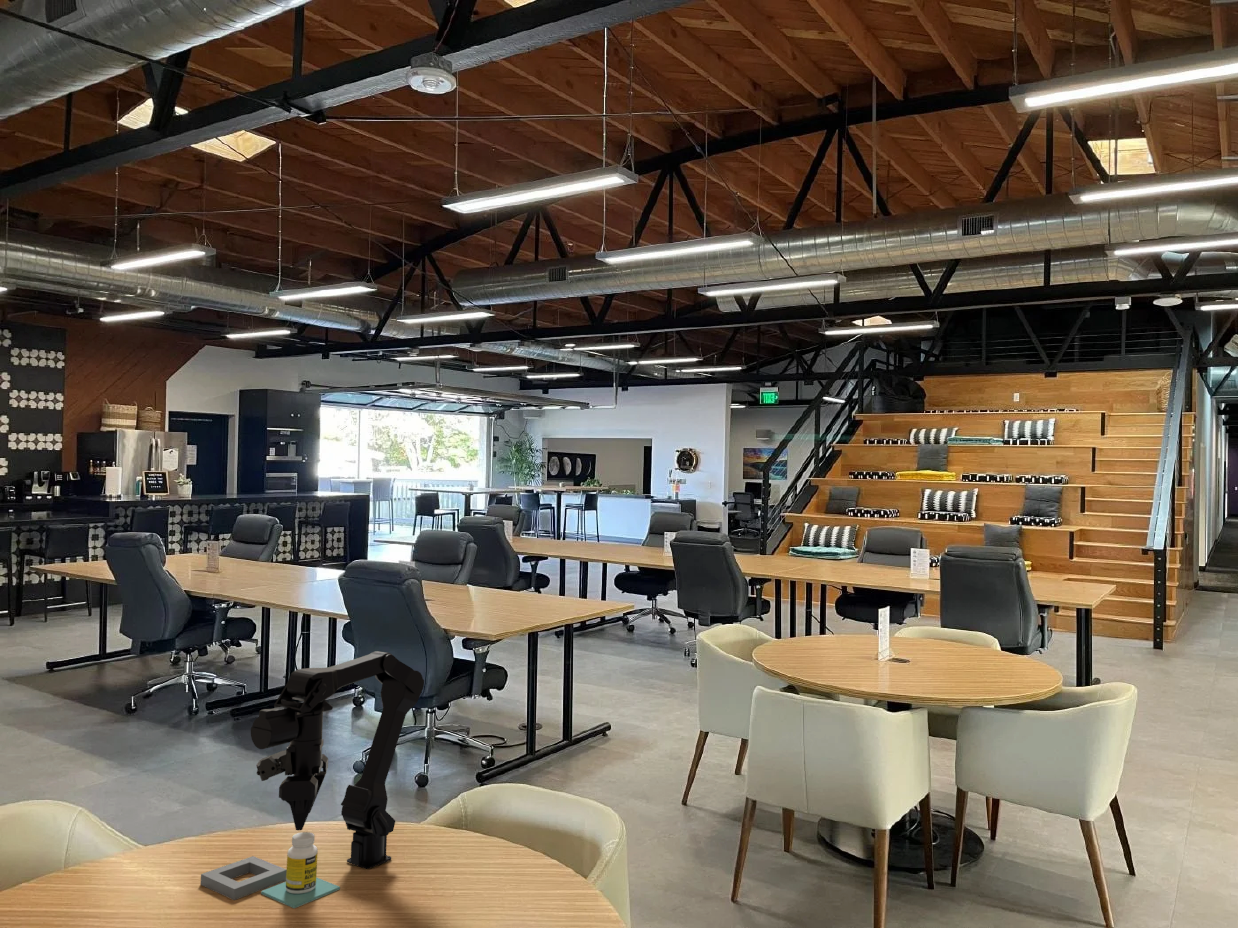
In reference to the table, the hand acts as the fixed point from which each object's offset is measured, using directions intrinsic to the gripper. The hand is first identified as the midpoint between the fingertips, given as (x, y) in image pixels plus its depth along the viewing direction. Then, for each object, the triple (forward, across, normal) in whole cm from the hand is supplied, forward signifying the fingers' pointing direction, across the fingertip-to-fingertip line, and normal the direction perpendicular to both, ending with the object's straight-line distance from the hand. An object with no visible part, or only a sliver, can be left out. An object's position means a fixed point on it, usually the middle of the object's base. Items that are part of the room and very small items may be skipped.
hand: (303, 821), depth 168 cm
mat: (+13, 0, 0) cm, 13 cm away
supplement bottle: (+13, 0, 0) cm, 13 cm away
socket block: (+13, -6, -11) cm, 18 cm away
